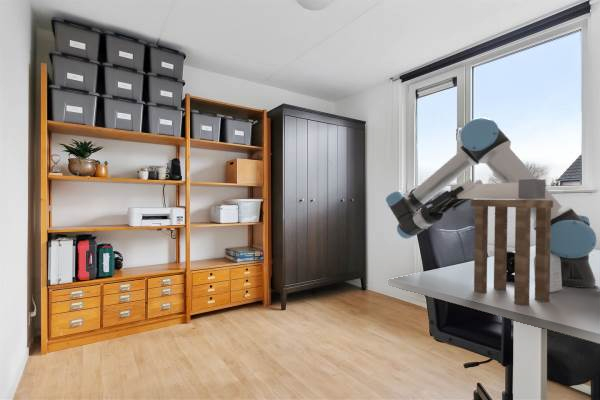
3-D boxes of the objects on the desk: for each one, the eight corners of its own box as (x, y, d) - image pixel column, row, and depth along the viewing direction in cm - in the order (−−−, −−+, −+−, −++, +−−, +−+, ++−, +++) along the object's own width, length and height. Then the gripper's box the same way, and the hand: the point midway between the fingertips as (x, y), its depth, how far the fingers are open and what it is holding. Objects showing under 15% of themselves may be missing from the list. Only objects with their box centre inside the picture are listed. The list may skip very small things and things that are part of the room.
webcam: (505, 282, 106) (505, 253, 106) (491, 277, 114) (492, 249, 114) (527, 282, 106) (528, 253, 106) (512, 277, 114) (513, 249, 114)
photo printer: (548, 287, 102) (546, 249, 103) (564, 290, 98) (562, 250, 99) (533, 291, 97) (530, 251, 98) (549, 294, 93) (547, 252, 94)
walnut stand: (495, 286, 101) (496, 200, 101) (551, 301, 86) (552, 200, 86) (469, 289, 96) (470, 199, 96) (523, 306, 82) (525, 199, 82)
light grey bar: (459, 198, 110) (459, 183, 110) (545, 198, 85) (545, 179, 85) (449, 198, 108) (449, 183, 108) (534, 198, 83) (534, 178, 83)
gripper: (448, 224, 121) (499, 193, 103) (414, 224, 115) (463, 192, 96) (440, 207, 125) (489, 174, 106) (407, 206, 118) (453, 172, 99)
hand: (476, 183), depth 101 cm, fingers closed on light grey bar, 4 cm apart
